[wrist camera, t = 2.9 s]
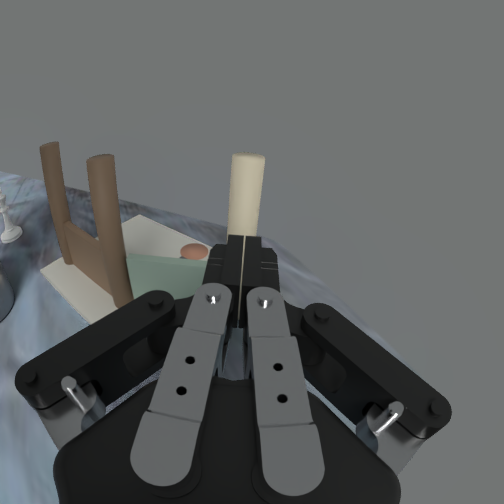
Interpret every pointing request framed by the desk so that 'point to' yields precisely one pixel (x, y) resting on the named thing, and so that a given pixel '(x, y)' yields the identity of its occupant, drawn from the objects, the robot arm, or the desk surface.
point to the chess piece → (8, 223)
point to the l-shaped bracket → (239, 223)
